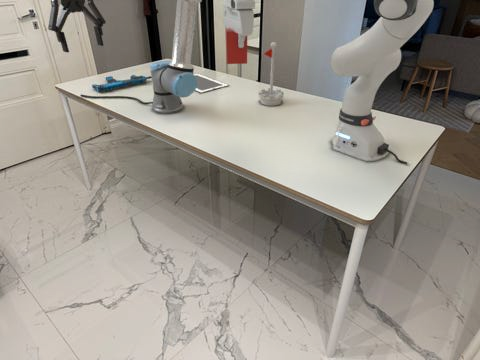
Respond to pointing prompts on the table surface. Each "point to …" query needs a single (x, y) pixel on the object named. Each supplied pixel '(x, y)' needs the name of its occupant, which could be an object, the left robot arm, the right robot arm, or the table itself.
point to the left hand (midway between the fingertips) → (84, 48)
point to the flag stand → (271, 84)
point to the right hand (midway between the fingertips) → (237, 45)
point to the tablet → (207, 84)
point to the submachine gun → (119, 83)
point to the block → (235, 48)
